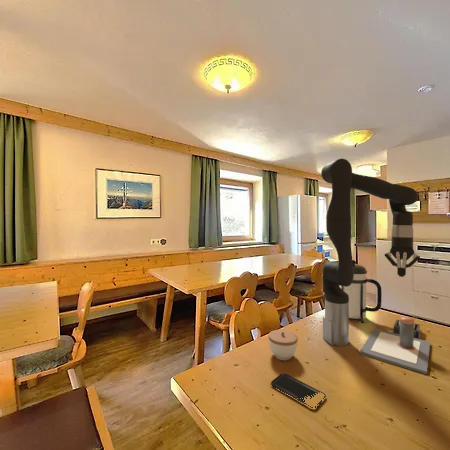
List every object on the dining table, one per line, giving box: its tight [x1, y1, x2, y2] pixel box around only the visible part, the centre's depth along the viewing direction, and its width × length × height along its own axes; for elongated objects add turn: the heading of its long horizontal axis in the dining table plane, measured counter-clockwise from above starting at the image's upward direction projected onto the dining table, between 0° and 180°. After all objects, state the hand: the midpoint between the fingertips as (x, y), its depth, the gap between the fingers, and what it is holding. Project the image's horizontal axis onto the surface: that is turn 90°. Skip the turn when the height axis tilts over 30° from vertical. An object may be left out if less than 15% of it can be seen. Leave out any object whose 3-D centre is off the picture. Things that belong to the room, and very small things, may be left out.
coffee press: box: [339, 259, 383, 324], centre depth 130 cm, size 17×16×30 cm
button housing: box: [391, 319, 422, 339], centre depth 114 cm, size 10×10×3 cm
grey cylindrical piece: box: [399, 315, 415, 349], centre depth 100 cm, size 5×5×11 cm
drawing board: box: [359, 327, 431, 375], centre depth 100 cm, size 26×20×1 cm
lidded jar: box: [268, 329, 299, 361], centre depth 96 cm, size 11×11×9 cm
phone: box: [270, 372, 327, 408], centre depth 77 cm, size 8×1×15 cm
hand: (401, 276), depth 108 cm, fingers closed
